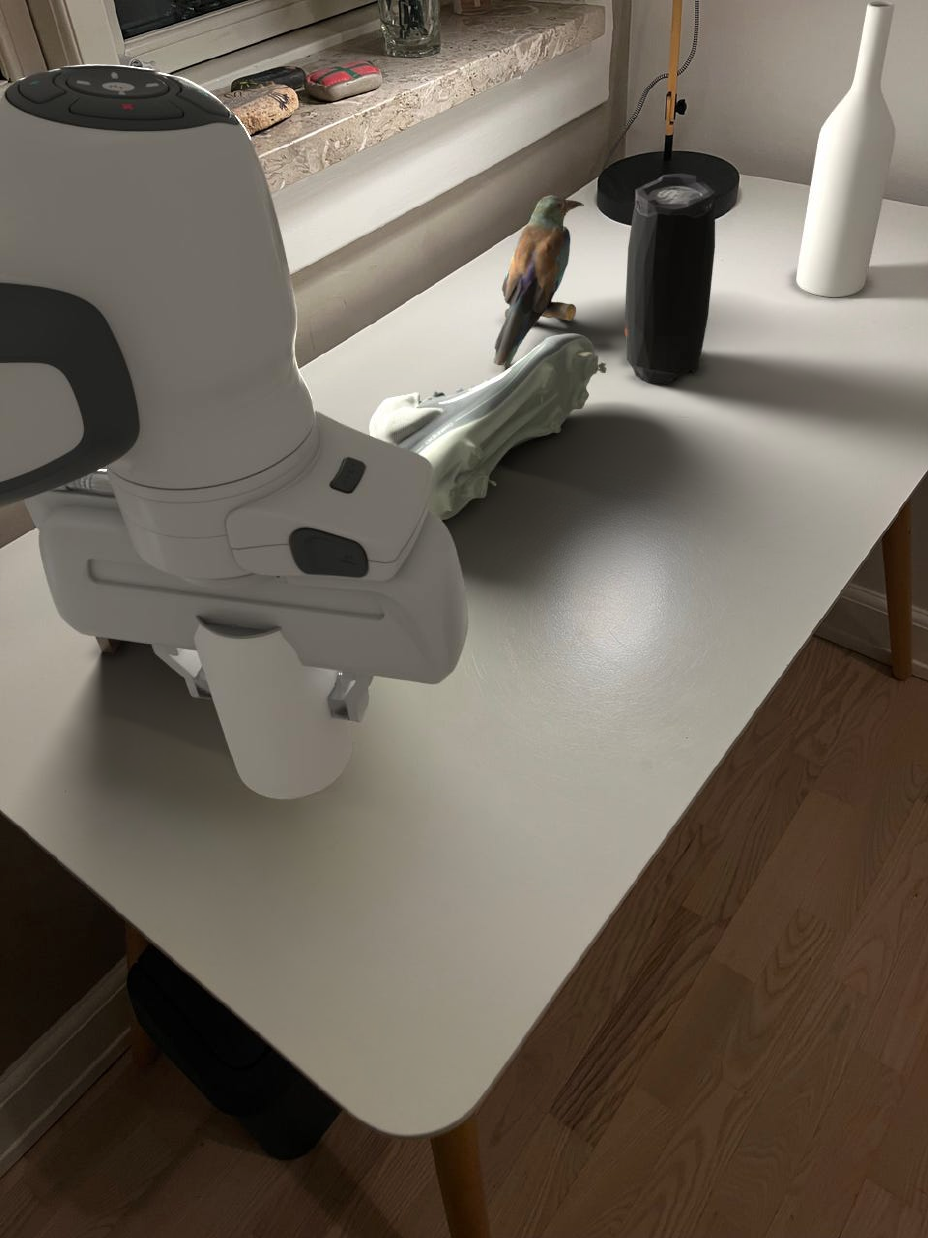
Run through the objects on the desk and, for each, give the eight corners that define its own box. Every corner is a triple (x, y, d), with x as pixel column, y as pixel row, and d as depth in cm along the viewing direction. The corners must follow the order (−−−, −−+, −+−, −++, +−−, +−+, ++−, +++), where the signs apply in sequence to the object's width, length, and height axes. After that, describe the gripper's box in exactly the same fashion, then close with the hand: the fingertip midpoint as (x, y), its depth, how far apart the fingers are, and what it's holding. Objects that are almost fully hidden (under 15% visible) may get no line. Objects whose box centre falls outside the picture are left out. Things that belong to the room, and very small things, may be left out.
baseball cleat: (619, 315, 103) (494, 281, 110) (443, 456, 87) (310, 405, 94) (615, 403, 110) (497, 366, 117) (451, 549, 94) (326, 495, 101)
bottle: (873, 274, 126) (932, -5, 106) (853, 302, 121) (912, 17, 101) (807, 262, 130) (852, -10, 109) (786, 290, 125) (829, 11, 104)
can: (378, 751, 57) (349, 589, 48) (287, 825, 53) (240, 664, 45) (302, 695, 60) (263, 534, 52) (213, 761, 57) (156, 601, 49)
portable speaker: (616, 384, 112) (622, 204, 99) (633, 342, 118) (640, 168, 105) (696, 391, 110) (713, 209, 96) (708, 348, 116) (725, 171, 103)
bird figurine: (545, 374, 113) (577, 180, 108) (464, 361, 117) (491, 173, 112) (582, 379, 125) (612, 204, 120) (508, 367, 129) (534, 197, 124)
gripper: (-29, 504, 44) (73, 717, 54) (429, 556, 40) (453, 778, 49) (47, 424, 49) (129, 633, 58) (468, 463, 44) (482, 683, 54)
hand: (281, 700), depth 54 cm, fingers closed on can, 6 cm apart
